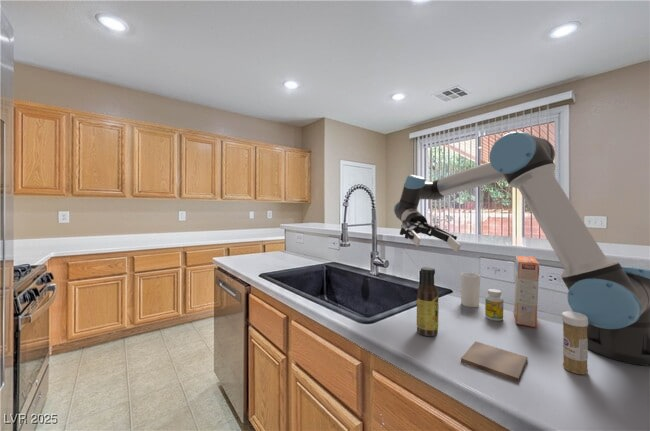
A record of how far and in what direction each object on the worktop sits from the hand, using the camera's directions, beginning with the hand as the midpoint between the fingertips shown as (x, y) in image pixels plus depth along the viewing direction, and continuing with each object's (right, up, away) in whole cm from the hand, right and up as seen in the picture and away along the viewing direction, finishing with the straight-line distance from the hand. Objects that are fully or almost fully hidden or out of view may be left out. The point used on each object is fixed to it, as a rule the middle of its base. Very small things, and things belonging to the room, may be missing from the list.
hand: (438, 245), depth 90 cm
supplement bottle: (+23, -26, +9) cm, 36 cm away
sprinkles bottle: (+24, -27, -22) cm, 42 cm away
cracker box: (+33, -26, +8) cm, 43 cm away
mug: (+22, -26, +23) cm, 41 cm away
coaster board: (+7, -27, -18) cm, 33 cm away
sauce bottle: (-5, -27, -2) cm, 27 cm away
